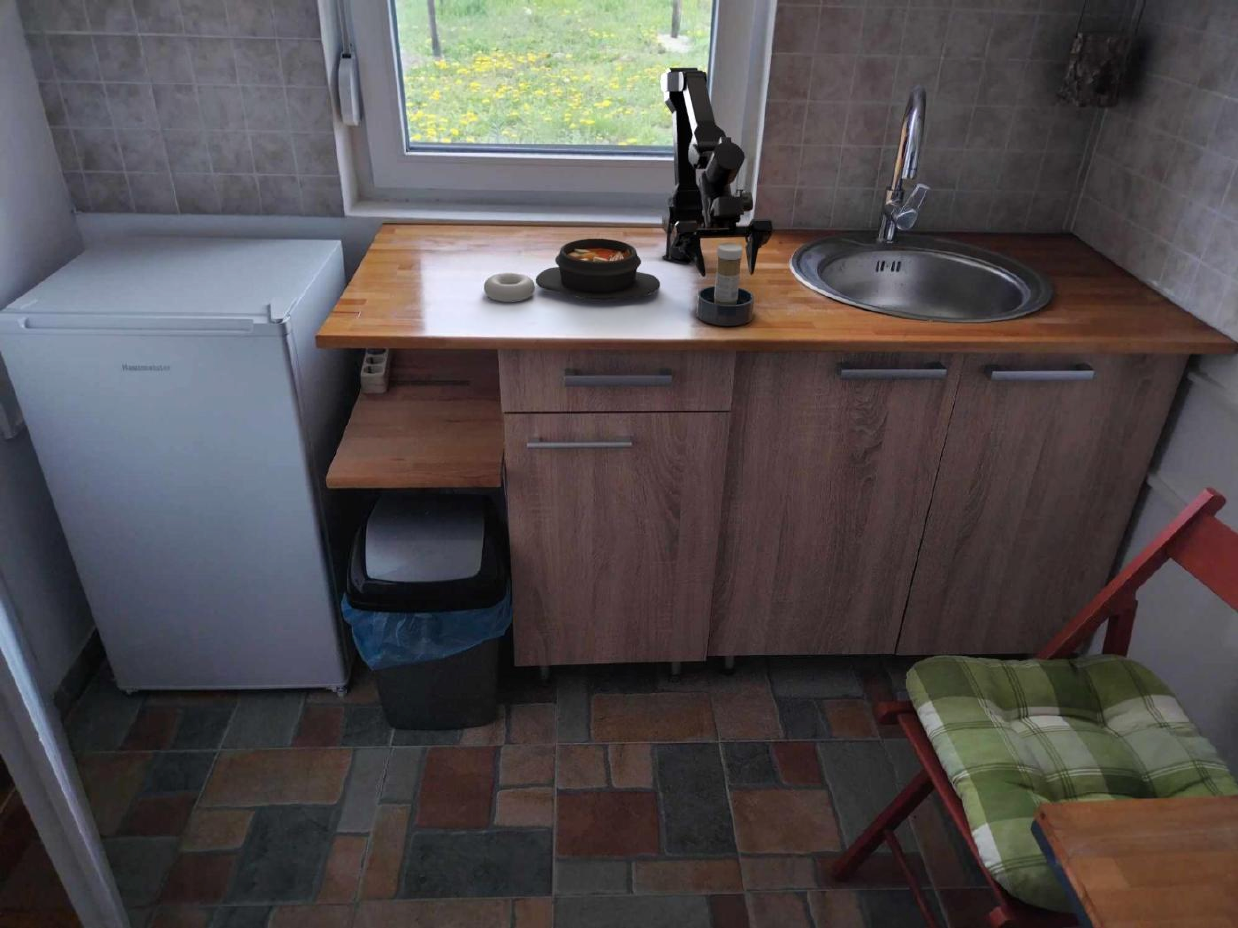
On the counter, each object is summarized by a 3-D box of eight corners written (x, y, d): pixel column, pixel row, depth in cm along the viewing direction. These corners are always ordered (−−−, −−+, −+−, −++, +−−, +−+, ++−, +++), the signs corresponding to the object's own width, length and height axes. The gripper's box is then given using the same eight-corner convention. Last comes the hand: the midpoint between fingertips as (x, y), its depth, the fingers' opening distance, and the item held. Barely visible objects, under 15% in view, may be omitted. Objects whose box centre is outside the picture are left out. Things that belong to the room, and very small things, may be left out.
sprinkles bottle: (726, 308, 177) (732, 240, 170) (741, 316, 174) (748, 247, 167) (707, 313, 175) (712, 244, 168) (722, 321, 172) (728, 251, 165)
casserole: (664, 279, 191) (666, 239, 187) (654, 312, 175) (656, 270, 171) (546, 270, 194) (545, 231, 189) (526, 302, 178) (525, 260, 174)
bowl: (686, 319, 173) (688, 298, 171) (710, 302, 181) (712, 281, 178) (738, 331, 168) (740, 310, 166) (760, 313, 176) (763, 292, 174)
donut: (522, 308, 176) (543, 290, 184) (521, 291, 174) (542, 273, 182) (475, 301, 178) (497, 283, 186) (474, 284, 177) (496, 266, 185)
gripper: (677, 177, 164) (688, 257, 161) (777, 174, 167) (790, 253, 164) (665, 208, 175) (675, 284, 171) (759, 206, 178) (771, 280, 174)
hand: (728, 275), depth 170 cm, fingers open, 9 cm apart
